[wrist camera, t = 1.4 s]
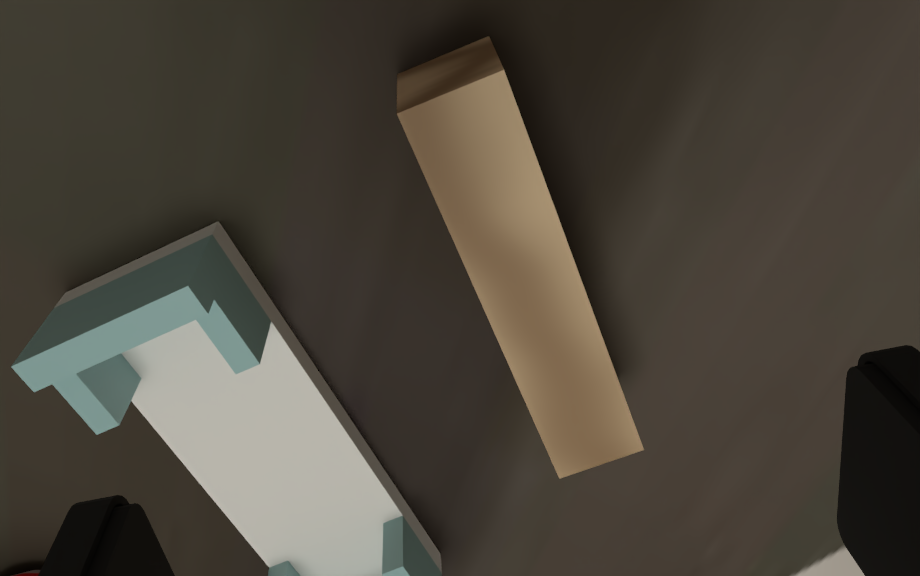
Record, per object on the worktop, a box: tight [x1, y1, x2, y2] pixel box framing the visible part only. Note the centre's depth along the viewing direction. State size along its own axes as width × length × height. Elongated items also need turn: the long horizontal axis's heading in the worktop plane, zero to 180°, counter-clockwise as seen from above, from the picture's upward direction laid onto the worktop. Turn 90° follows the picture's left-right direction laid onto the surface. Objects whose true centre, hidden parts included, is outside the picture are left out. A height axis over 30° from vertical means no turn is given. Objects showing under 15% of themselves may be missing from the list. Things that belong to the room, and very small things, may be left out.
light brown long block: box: [397, 36, 644, 479], centre depth 31 cm, size 4×16×5 cm, turn 22°
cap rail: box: [11, 221, 442, 576], centre depth 34 cm, size 7×20×5 cm, turn 25°
